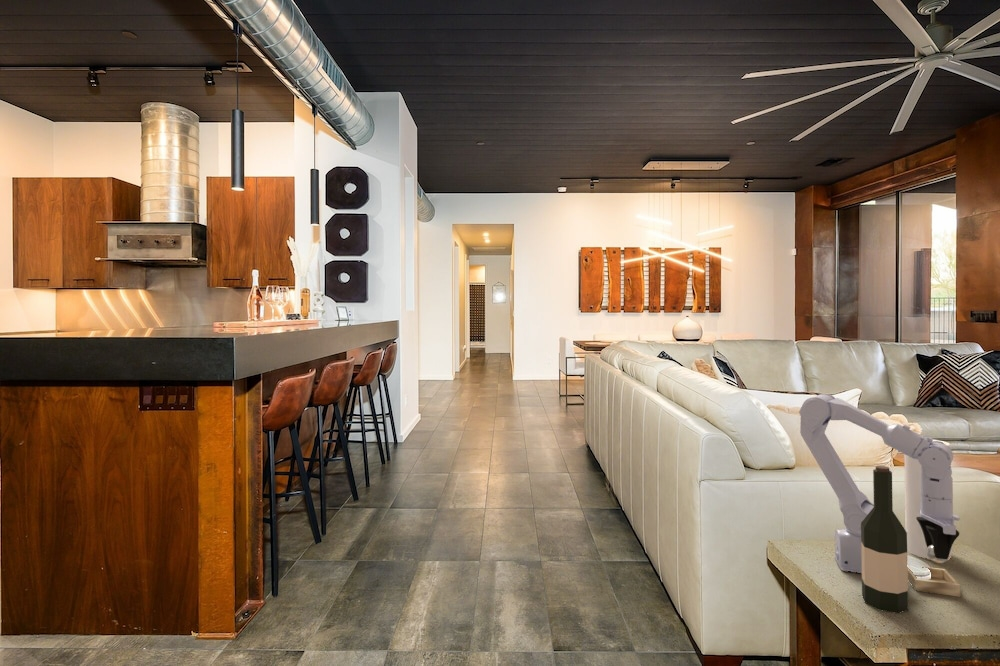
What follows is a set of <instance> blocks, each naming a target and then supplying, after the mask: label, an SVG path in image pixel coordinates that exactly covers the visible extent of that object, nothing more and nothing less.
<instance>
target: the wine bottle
mask: <svg viewBox="0 0 1000 666" xmlns="http://www.w3.org/2000/svg"><path fill="white" fill-rule="evenodd" d="M872 471H873V472H872V474H873V476H872V478H873V479H872V480H873V482H872V485H873V504H874V507H873V509H872V510H871V511H870V512H869V514H868V515H867V516H866V517H865V519H864V520H863V521H862V522H861V555H862V573H861V596H863V597H862V599H863V601H865V602H864V603H865V604H866V605H868V606H871V607H873V608H875V609H876V610H878V609H879V611H881V610H883V612H887V613H893V612H895V613H894V614H900V612H901V613H903V612H902V611H904V612H906V611H905V610H907V611H909V592H908V591H909V584H908V583H909V582H908V568H907V565H908V551H907V532H906V531H905V528H904V527H905V526H903V525H902V523H901V521H900V520H899V518H898V516H897V515H896V514H895V511H894V509H893V472H892V471H891V470H890V467H889V466H885V465H876V466H875V469H873V470H872Z"/></svg>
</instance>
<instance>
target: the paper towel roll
mask: <svg viewBox="0 0 1000 666" xmlns="http://www.w3.org/2000/svg"><path fill="white" fill-rule="evenodd" d="M933 441H940V442H943V443H944V444H945V445H947V446H948V447H949V448H950V449H951V444H950V442H947V441H943V440H938V439H933ZM903 456H904V457H903V458H904V514H905V515H904V525H905V526H904V527H905V528H904V529H905V531H906V532H907V553H909V554H911V555H913V556H915V557H918V558H921V557H922V559H925V558H927V559H926V560H930V558H929V557H928V556H927V553H926V550H927V545H926V542H925V538H924V534H923V531H922V528H921V526H920V524H919V522H918V521H917V519H916V517H921V516H920V504H921V473H922V471H921V464H920V463H919V461H918V459H913V458H911V457H909V456H907V455H905V454H903ZM949 558H951V559H952V549H951V550H950V554H949V557H948V559H949Z"/></svg>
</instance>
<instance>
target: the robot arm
mask: <svg viewBox="0 0 1000 666" xmlns="http://www.w3.org/2000/svg"><path fill="white" fill-rule="evenodd" d="M798 413H799V416H800V428H799V429H800V430H799V431H800V436H801V437H802V439H803V441H804V442H805V444H806V446H807V448H808V450H809V451H810V453H811V455H812V456H813V458H814V460H815V462H816V463H817V465H818V466H819V468H820V469H821V472H822V473H823V475H824V476H825V478H826V480H827V481H828V483H829V485H830V487H831V488H832V490H833V492H834V493H835V495H836V497H837V498H838V505H839V510H840V512H841V513H842V515H843V516H842V517H843V524H844V526H845V529H844V528H843V529H835V533H834V551H835V552H834V555H835V556H834V559H835V561H836V563H837V565H838V567H839V569H840V570H841V571H842V572H848V571H851V572H850V573H856V572H857V573H859V574H862V555H861V522H862V521H863V520H864V519H865V517H866V516H867V515H868V514H869V512H870V511H871V510H872V509H873V507H874V503H873V502H871V501H870V500H869V498H868V496H867V495H866V494H865V493H863V492H862V491H861V490H859V488H858V485H857V484H856V482H855V481H854V480H853V478H852V476H851V475H850V473H849V471H848V469H847V468H846V466H845V465H844V463H843V461H842V459H841V458H840V456H839V455H838V454H837V451H836V449H835V448H834V447H833V445H832V443H831V441H830V439H828V436H827V435H826V434H825V432H826V430H827V427H828V425H829V422H830V421H848V422H850V423H852V424H855V425H856V426H859V428H860V427H861V428H863V429H865V430H867V431H869V432H871V433H873V434H876V435H877V436H880V437H881V439H882V441H883V443H884V444H885V445H886V446H888V447H890V448H892V449H894V450H895V451H897V452H900V453H902V454H903V455H904V454H905V455H907V456H909V457H911V458H913V459H918V461H919V463H920V464H921V471H922V473H921V504H920V516H921V517H916V519H917V521H918V522H919V524H920V526H921V528H922V531H923V534H924V538H925V542H926V545H927V548H928V546H930V545H933V550H934V554H935V557H936V558H939V559H948V557H949V554H950V550H951V551H952V547H953V545H954V542H955V541H956V540H957V539H958V538H959V536H960V531H958V530H957V527H956V525H955V521H960V520H961V519H960V516H958V515H957V514H954V497H953V496H954V493H953V489H954V488H953V485H954V484H953V477H952V474H953V471H952V466H951V465H952V462H953V460H954V453H953V450H952V449H951V447H950V448H949V447H948V446H947V445H945V444H944V443H943V442H940V441H941V440H939V441H933V440H934V438H932V437H930V436H928V437H925V436H924V435H922V434H921V433H917V431H916V432H915V431H914V430H912V429H911V426H910V425H908V424H903V425H902V424H899V423H895V424H888V423H886V422H884V421H882V420H880V419H879V418H877V417H875V416H873V415H871V414H869V413H867V412H866V411H864V410H862V409H860V408H858V407H856V406H854V405H853V404H851V403H849V402H847V401H845V400H843V399H842V398H838V397H835V396H833V395H831V394H829V393H820V394H817V395H815V396H812V397H809V398H807V399H805V400H804V401H803V403H802V405H801V406H800V409H799V411H798Z"/></svg>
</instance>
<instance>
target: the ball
mask: <svg viewBox="0 0 1000 666" xmlns="http://www.w3.org/2000/svg"><path fill="white" fill-rule="evenodd" d="M926 553H927V556H928V557H929V558H930V559H931V561H932V562H934V563H937V564H944V563H945V562H947V561H949V560H948V559H939V558H936V557H935V554H934V550H933V545H930V546H928V548H927V550H926ZM930 559H929V560H930Z"/></svg>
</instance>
